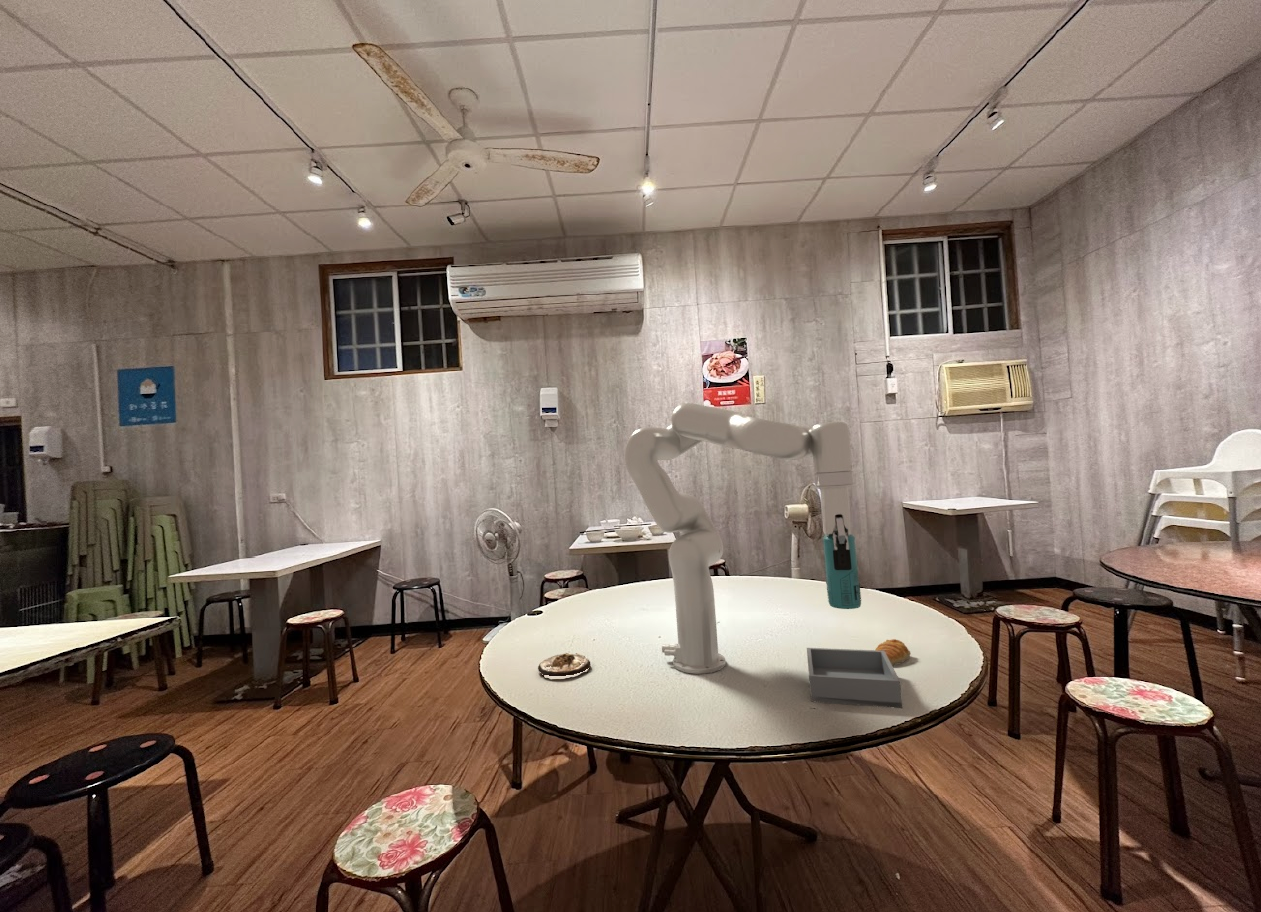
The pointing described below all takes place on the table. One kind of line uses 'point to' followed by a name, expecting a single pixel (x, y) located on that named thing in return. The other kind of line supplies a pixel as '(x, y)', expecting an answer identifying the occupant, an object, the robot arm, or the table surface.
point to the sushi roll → (564, 665)
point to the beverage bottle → (842, 577)
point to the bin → (853, 677)
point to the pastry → (894, 651)
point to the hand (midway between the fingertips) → (841, 565)
